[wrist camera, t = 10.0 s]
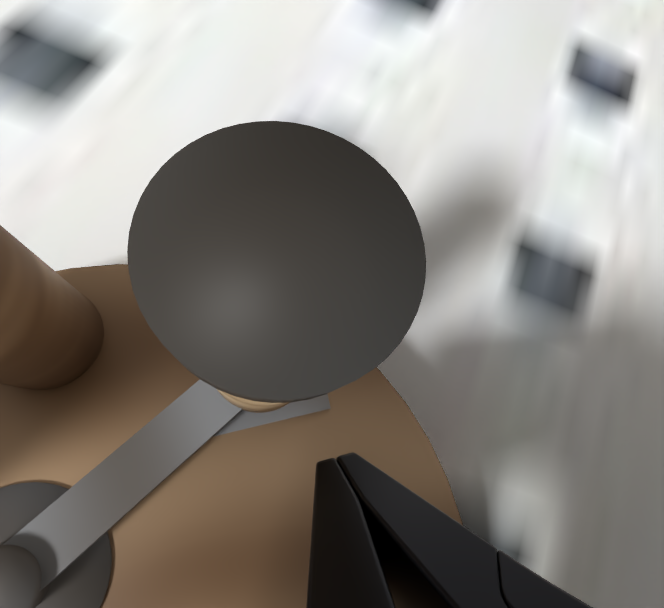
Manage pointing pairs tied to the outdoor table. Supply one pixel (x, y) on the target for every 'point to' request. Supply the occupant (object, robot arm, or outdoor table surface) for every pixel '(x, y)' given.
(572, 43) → the outdoor table surface
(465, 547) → the robot arm
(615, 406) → the outdoor table surface
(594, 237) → the outdoor table surface
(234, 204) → the hinged leg
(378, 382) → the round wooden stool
